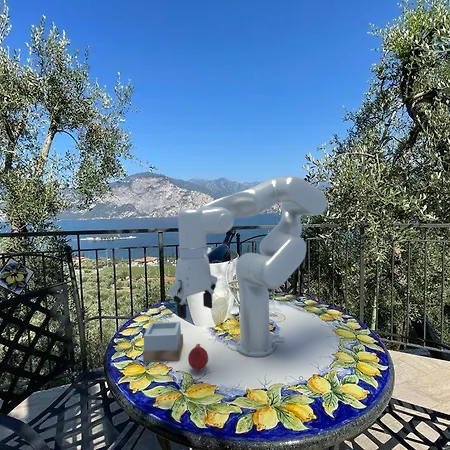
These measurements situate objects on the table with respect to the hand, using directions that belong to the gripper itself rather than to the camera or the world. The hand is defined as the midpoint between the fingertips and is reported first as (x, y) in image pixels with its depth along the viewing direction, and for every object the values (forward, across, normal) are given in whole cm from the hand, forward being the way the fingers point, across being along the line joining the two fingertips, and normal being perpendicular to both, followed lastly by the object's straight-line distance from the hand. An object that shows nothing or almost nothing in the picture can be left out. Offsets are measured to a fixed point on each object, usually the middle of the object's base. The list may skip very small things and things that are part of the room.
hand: (195, 312), depth 88 cm
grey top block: (+14, 0, -16) cm, 21 cm away
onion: (+18, 0, 0) cm, 18 cm away
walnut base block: (+18, 0, -16) cm, 24 cm away
